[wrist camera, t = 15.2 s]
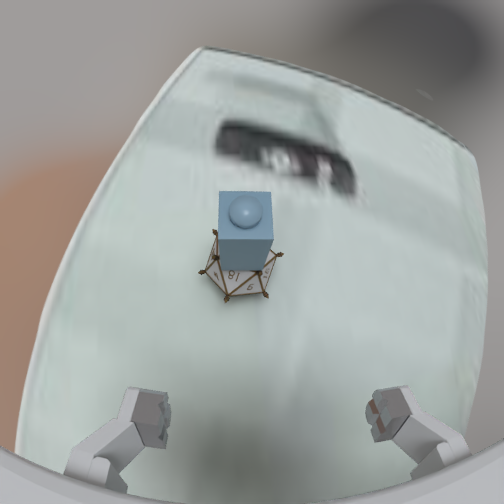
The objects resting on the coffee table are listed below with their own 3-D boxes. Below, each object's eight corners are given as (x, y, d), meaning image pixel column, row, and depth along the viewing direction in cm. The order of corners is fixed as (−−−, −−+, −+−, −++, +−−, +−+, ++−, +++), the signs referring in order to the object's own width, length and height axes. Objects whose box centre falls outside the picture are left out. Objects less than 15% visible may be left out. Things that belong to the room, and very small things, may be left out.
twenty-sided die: (226, 288, 40) (171, 281, 32) (246, 228, 40) (195, 207, 32) (281, 314, 35) (231, 314, 27) (305, 246, 35) (261, 225, 27)
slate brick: (262, 270, 29) (275, 235, 21) (221, 270, 29) (217, 234, 21) (261, 232, 30) (272, 186, 22) (221, 232, 30) (218, 185, 22)
